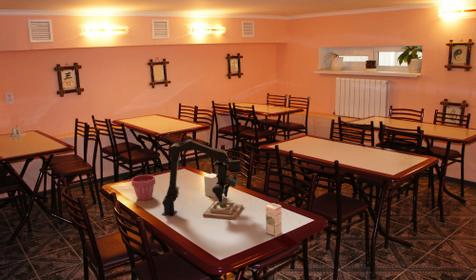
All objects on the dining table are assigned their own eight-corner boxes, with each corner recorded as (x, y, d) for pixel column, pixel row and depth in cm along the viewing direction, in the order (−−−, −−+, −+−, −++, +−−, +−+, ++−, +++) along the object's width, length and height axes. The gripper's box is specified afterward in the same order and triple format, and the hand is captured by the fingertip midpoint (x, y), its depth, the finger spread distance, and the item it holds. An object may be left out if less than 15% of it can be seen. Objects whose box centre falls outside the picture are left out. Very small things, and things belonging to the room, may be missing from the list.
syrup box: (282, 232, 213) (282, 205, 210) (274, 236, 209) (274, 208, 205) (272, 229, 217) (272, 202, 213) (265, 233, 212) (265, 205, 209)
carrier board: (234, 219, 230) (234, 213, 230) (202, 216, 235) (202, 210, 234) (243, 207, 247) (243, 201, 246) (213, 204, 252) (213, 199, 251)
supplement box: (221, 194, 269) (220, 175, 266) (212, 197, 264) (211, 178, 261) (213, 191, 274) (212, 173, 271) (204, 195, 269) (203, 175, 266)
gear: (228, 212, 236) (227, 201, 234) (214, 211, 238) (213, 200, 237) (232, 207, 244) (232, 196, 242) (218, 205, 246) (218, 195, 244)
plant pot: (140, 203, 257) (138, 183, 254) (128, 197, 267) (127, 178, 264) (160, 197, 266) (159, 178, 263) (149, 192, 276) (147, 173, 273)
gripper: (231, 178, 225) (232, 206, 229) (240, 168, 243) (241, 194, 246) (211, 177, 228) (212, 205, 232) (222, 167, 246) (223, 193, 249)
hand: (223, 199), depth 240 cm, fingers open, 9 cm apart
